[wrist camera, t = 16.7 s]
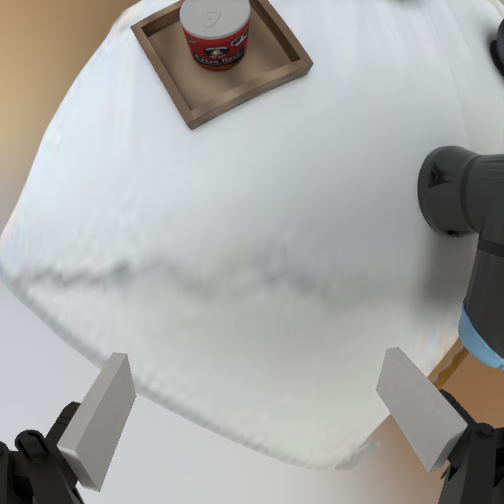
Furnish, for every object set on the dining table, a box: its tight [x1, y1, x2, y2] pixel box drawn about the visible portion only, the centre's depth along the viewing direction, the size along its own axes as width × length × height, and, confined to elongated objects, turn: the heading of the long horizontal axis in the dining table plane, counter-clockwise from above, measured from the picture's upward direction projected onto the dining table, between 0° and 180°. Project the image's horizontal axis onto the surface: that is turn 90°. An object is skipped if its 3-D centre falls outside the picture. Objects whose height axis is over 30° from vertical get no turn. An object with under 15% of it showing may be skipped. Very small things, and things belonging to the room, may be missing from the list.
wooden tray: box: [130, 0, 314, 130], centre depth 33 cm, size 18×18×4 cm
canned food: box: [180, 0, 251, 71], centre depth 29 cm, size 8×8×11 cm
